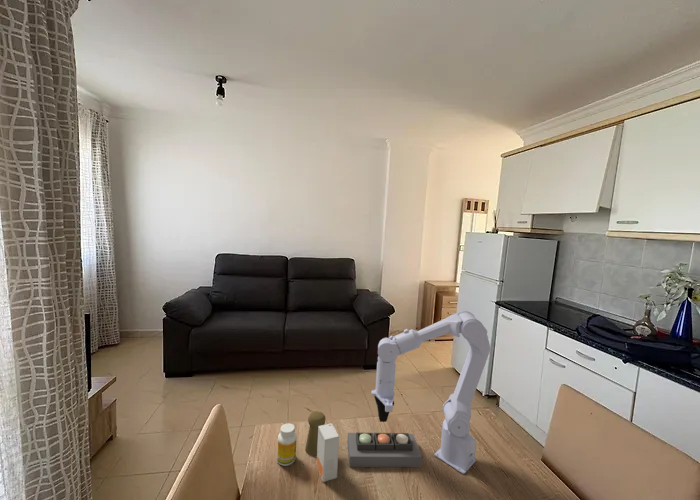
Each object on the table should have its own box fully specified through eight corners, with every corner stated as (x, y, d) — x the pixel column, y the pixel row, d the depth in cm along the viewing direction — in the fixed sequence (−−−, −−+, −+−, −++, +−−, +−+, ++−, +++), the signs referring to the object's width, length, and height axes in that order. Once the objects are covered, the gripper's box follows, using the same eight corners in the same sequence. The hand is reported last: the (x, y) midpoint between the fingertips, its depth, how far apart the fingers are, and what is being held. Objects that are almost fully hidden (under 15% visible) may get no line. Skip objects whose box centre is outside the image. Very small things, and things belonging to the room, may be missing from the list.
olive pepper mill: (315, 459, 87) (317, 423, 86) (301, 449, 91) (302, 414, 90) (329, 448, 92) (331, 413, 91) (315, 439, 95) (316, 405, 95)
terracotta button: (388, 438, 93) (388, 433, 92) (390, 447, 89) (390, 441, 89) (376, 438, 92) (377, 433, 92) (378, 447, 89) (378, 441, 89)
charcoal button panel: (412, 442, 97) (413, 428, 96) (421, 466, 87) (422, 451, 86) (347, 441, 95) (348, 427, 95) (349, 466, 85) (350, 450, 85)
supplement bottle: (275, 454, 88) (276, 423, 87) (293, 451, 90) (295, 420, 89) (277, 468, 83) (279, 435, 82) (297, 464, 85) (298, 431, 84)
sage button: (370, 438, 92) (370, 433, 92) (371, 446, 89) (372, 441, 88) (358, 438, 92) (358, 433, 92) (359, 446, 88) (360, 441, 88)
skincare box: (315, 466, 85) (317, 425, 84) (330, 462, 86) (332, 422, 86) (322, 483, 79) (324, 439, 78) (337, 478, 81) (339, 436, 80)
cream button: (406, 438, 93) (406, 434, 93) (409, 447, 89) (409, 442, 89) (394, 438, 93) (395, 433, 93) (397, 447, 89) (397, 442, 89)
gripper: (369, 367, 99) (366, 406, 100) (376, 390, 85) (373, 436, 86) (390, 367, 100) (387, 406, 101) (401, 390, 86) (397, 436, 86)
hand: (382, 420), depth 93 cm, fingers closed
